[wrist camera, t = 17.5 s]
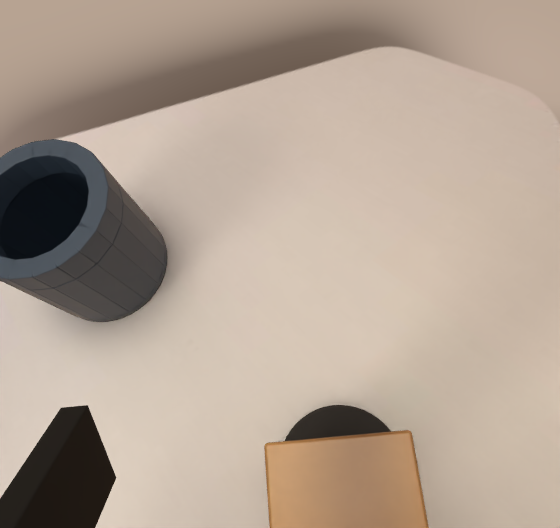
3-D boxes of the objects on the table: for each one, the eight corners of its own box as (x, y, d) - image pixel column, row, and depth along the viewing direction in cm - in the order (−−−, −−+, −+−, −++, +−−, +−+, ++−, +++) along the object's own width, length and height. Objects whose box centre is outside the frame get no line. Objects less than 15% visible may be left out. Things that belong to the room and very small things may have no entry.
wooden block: (313, 512, 28) (275, 620, 11) (306, 441, 29) (263, 443, 12) (380, 506, 27) (444, 610, 11) (369, 435, 29) (411, 429, 12)
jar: (47, 238, 38) (-48, 172, 28) (151, 197, 38) (90, 118, 29) (66, 340, 34) (-34, 303, 25) (181, 294, 34) (123, 241, 25)
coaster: (261, 432, 30) (260, 432, 30) (372, 387, 30) (373, 386, 30) (306, 566, 27) (305, 569, 27) (430, 514, 27) (431, 516, 27)
